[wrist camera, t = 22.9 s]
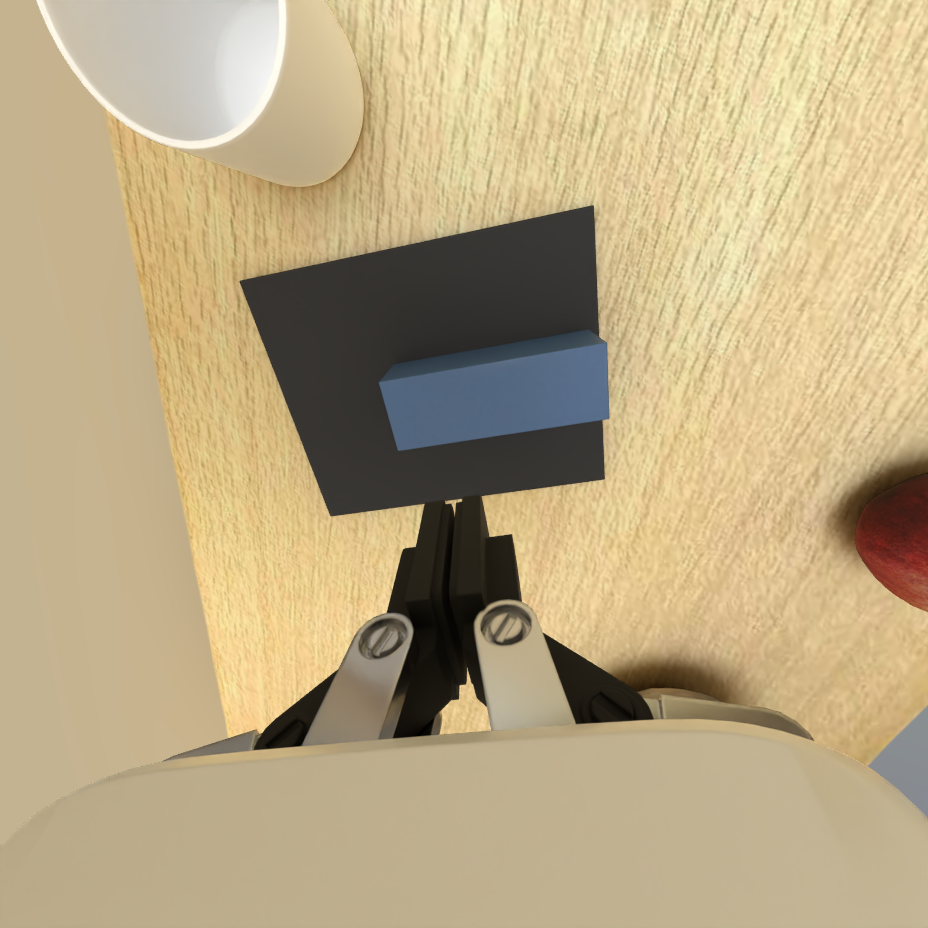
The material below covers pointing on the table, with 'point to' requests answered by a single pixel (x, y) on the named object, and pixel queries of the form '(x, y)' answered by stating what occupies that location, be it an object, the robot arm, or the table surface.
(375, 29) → the table surface
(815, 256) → the table surface
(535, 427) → the block
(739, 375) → the table surface
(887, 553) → the fruit
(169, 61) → the mug
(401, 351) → the mat
